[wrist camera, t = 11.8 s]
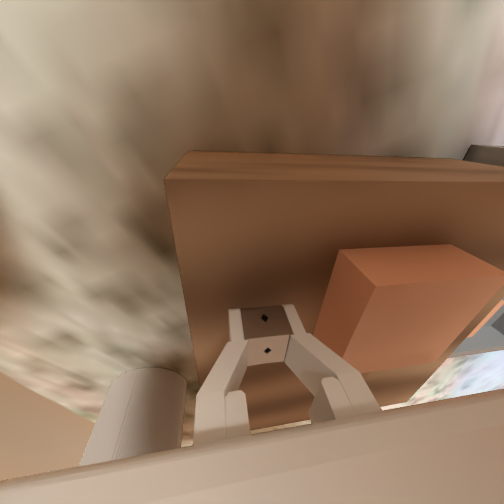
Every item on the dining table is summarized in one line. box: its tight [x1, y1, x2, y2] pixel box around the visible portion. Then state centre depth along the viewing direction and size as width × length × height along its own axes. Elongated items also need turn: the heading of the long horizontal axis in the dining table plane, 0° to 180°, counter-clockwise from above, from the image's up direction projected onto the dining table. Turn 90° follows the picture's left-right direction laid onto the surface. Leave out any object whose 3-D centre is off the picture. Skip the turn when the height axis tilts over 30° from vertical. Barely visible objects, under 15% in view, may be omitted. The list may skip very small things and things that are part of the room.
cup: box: [79, 368, 187, 466], centre depth 22 cm, size 9×9×12 cm
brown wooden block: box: [164, 151, 504, 430], centre depth 17 cm, size 22×20×8 cm
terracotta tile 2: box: [313, 244, 504, 373], centre depth 10 cm, size 6×6×2 cm
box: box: [448, 145, 504, 358], centre depth 22 cm, size 24×20×4 cm
